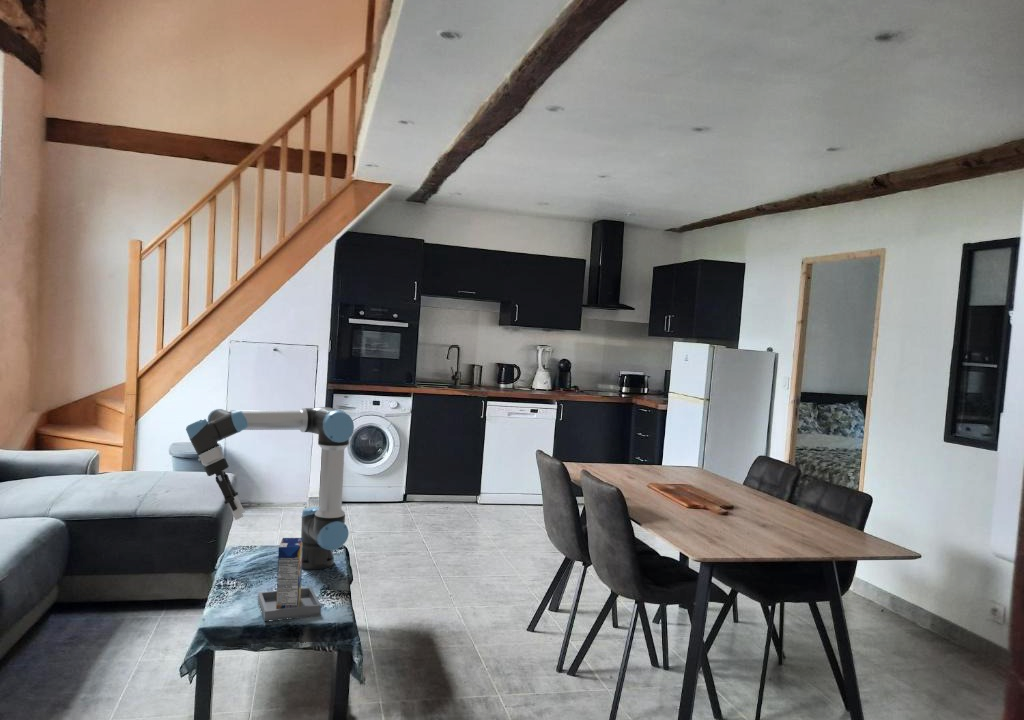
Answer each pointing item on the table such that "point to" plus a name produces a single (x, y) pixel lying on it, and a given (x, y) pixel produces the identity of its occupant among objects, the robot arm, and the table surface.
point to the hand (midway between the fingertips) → (240, 516)
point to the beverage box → (289, 573)
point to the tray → (306, 608)
